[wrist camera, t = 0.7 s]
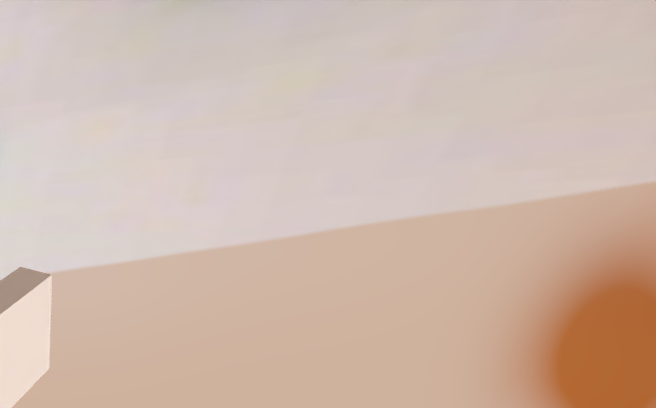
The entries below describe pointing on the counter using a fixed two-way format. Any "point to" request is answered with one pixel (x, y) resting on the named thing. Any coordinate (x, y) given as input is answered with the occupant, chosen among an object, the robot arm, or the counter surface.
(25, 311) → the robot arm
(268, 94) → the counter surface
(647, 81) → the counter surface
